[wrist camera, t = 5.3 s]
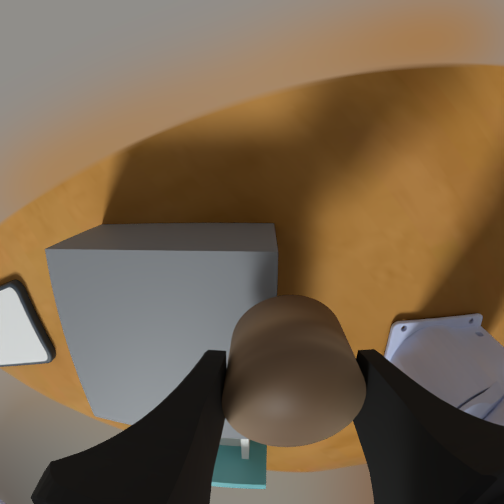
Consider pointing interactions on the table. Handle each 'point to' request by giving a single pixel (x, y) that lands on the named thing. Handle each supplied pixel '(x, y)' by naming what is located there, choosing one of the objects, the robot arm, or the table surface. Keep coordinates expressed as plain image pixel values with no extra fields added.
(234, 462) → the tray
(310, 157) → the table surface
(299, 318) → the brown cork
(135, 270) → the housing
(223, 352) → the robot arm
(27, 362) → the smartphone
